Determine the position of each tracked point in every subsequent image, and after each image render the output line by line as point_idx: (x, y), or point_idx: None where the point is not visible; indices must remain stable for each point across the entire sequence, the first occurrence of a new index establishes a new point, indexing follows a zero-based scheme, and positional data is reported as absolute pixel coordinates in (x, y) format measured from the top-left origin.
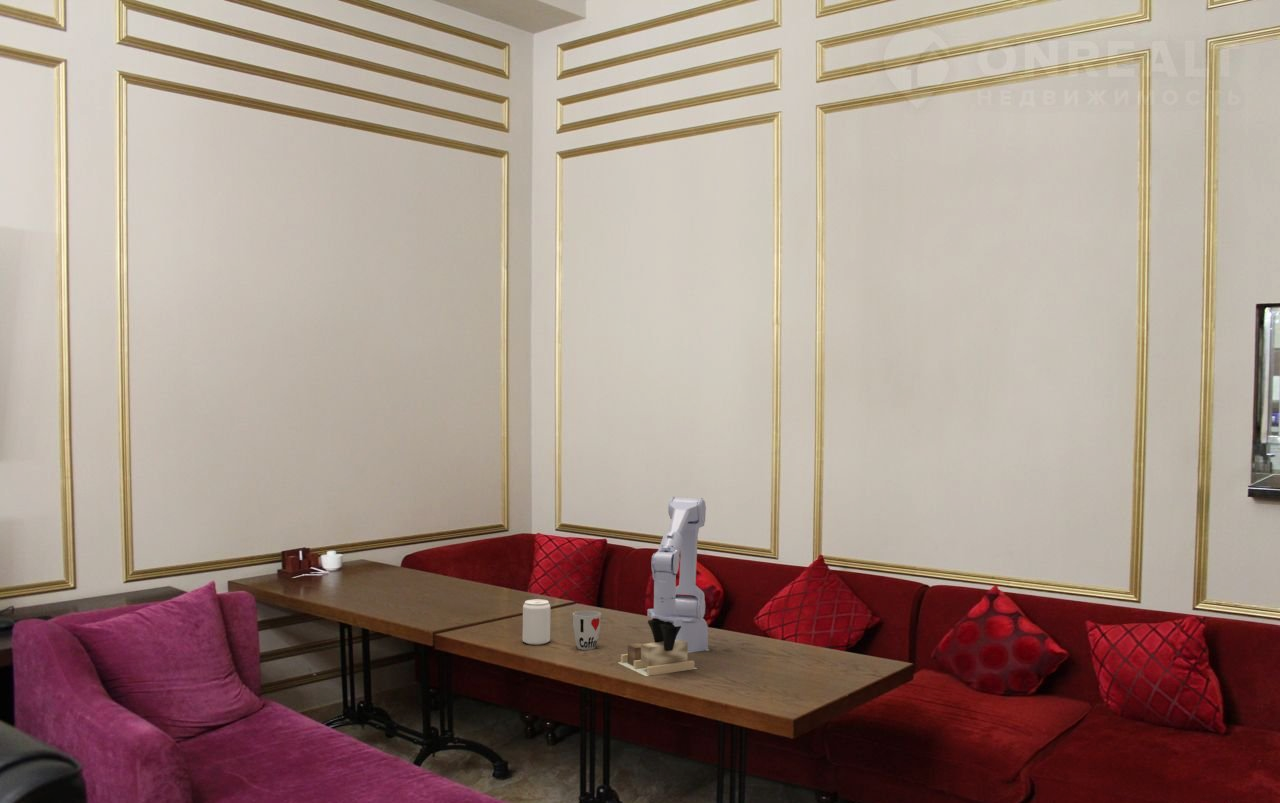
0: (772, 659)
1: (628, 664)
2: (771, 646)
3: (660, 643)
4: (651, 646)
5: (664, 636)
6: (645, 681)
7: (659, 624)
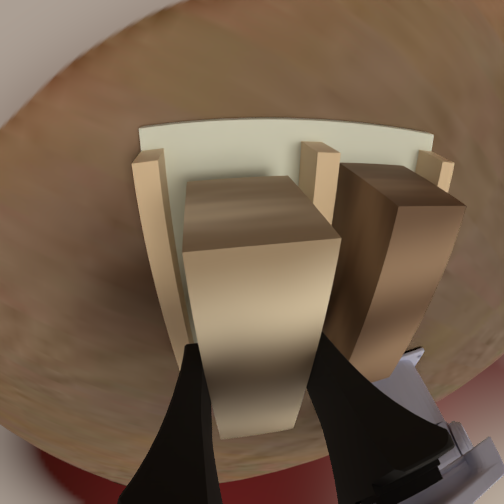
0: (218, 455)
1: (388, 158)
2: (294, 457)
3: (273, 365)
4: (218, 290)
5: (175, 433)
6: (89, 105)
7: (356, 473)
